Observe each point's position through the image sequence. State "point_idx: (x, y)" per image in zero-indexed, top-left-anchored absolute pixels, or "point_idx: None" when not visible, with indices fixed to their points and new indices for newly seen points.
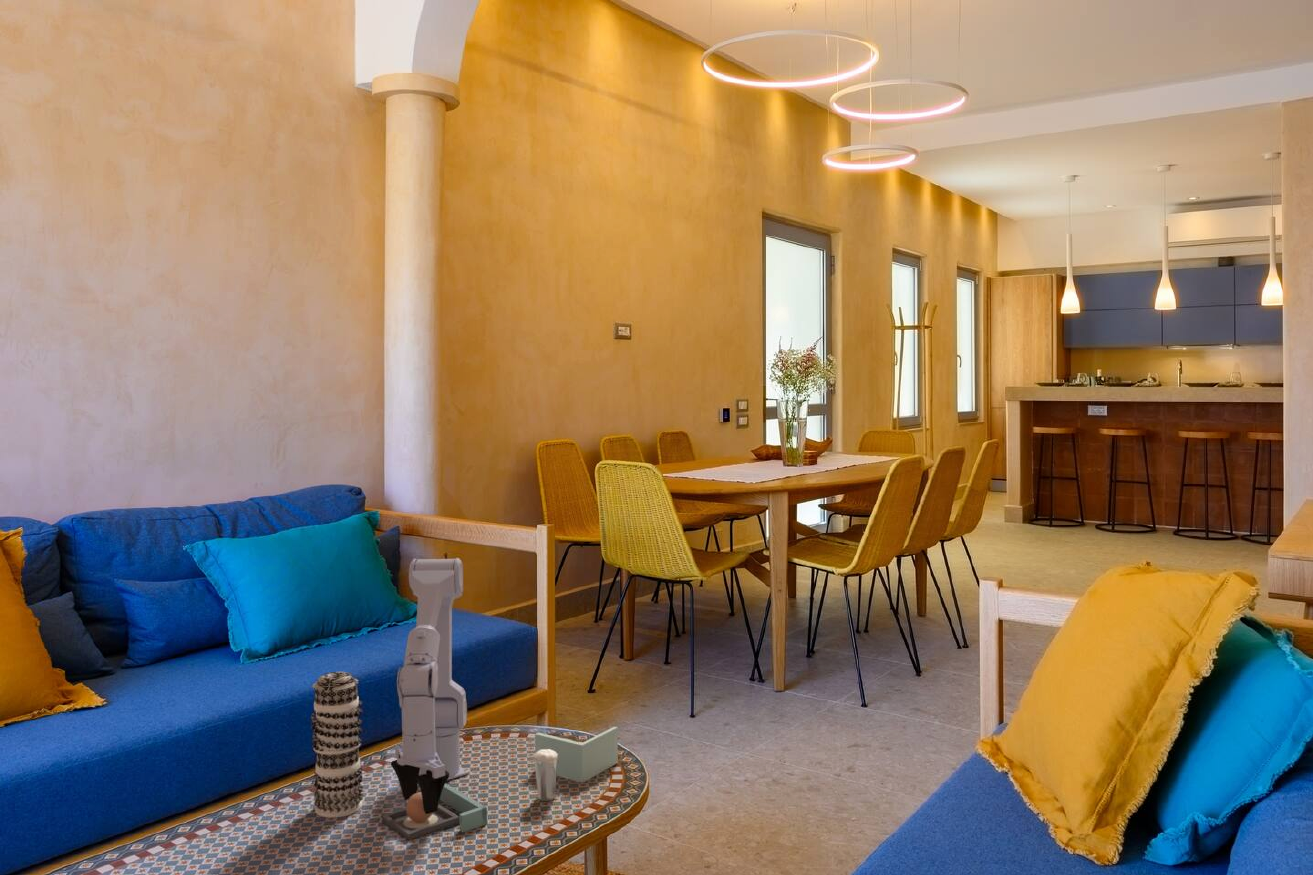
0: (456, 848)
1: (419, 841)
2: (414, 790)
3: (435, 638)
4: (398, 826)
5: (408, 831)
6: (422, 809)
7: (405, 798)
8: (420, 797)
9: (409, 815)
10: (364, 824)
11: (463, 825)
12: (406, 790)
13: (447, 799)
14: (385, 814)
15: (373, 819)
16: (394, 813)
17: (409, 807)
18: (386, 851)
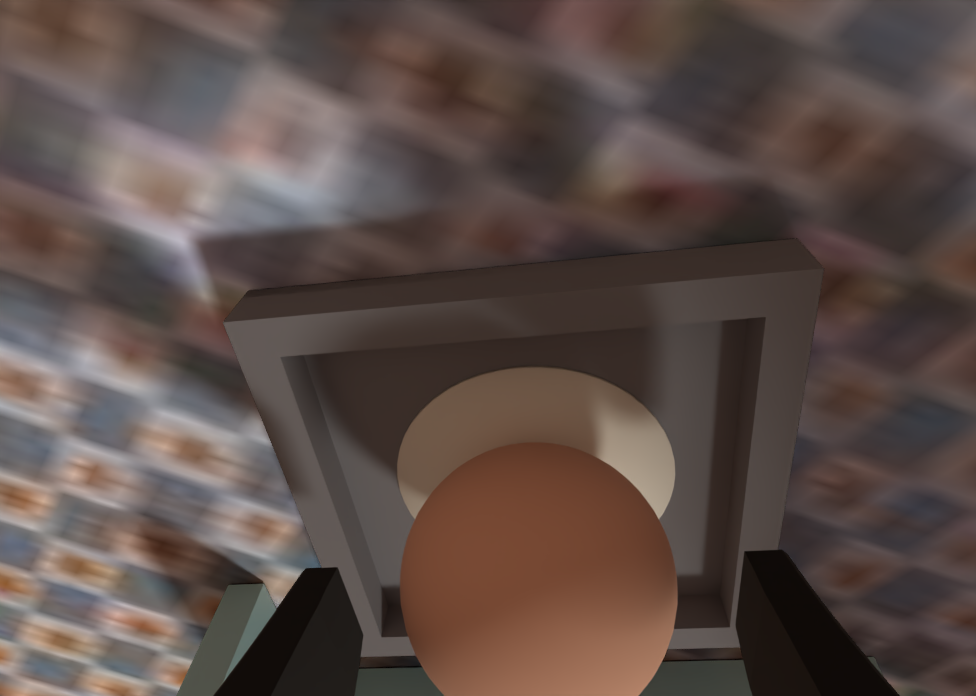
0: (5, 489)
1: (208, 352)
2: (761, 687)
3: None
4: (443, 308)
5: (286, 341)
6: (400, 578)
7: (752, 565)
8: (469, 680)
9: (503, 457)
10: (908, 58)
11: (210, 630)
12: (781, 657)
13: (691, 693)
14: (814, 307)
15: (931, 190)
16: (760, 379)
17: (498, 521)
18: (102, 32)
